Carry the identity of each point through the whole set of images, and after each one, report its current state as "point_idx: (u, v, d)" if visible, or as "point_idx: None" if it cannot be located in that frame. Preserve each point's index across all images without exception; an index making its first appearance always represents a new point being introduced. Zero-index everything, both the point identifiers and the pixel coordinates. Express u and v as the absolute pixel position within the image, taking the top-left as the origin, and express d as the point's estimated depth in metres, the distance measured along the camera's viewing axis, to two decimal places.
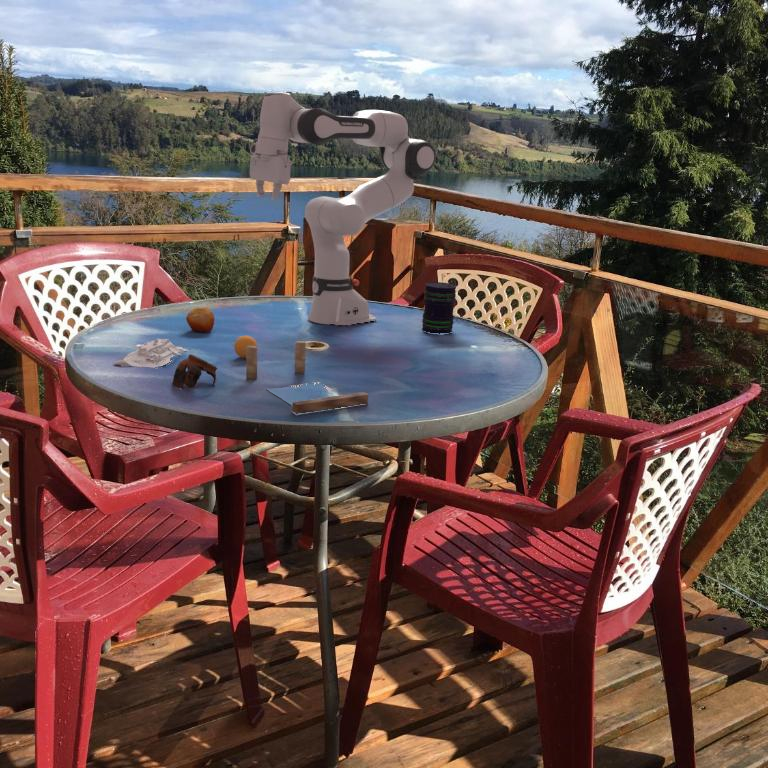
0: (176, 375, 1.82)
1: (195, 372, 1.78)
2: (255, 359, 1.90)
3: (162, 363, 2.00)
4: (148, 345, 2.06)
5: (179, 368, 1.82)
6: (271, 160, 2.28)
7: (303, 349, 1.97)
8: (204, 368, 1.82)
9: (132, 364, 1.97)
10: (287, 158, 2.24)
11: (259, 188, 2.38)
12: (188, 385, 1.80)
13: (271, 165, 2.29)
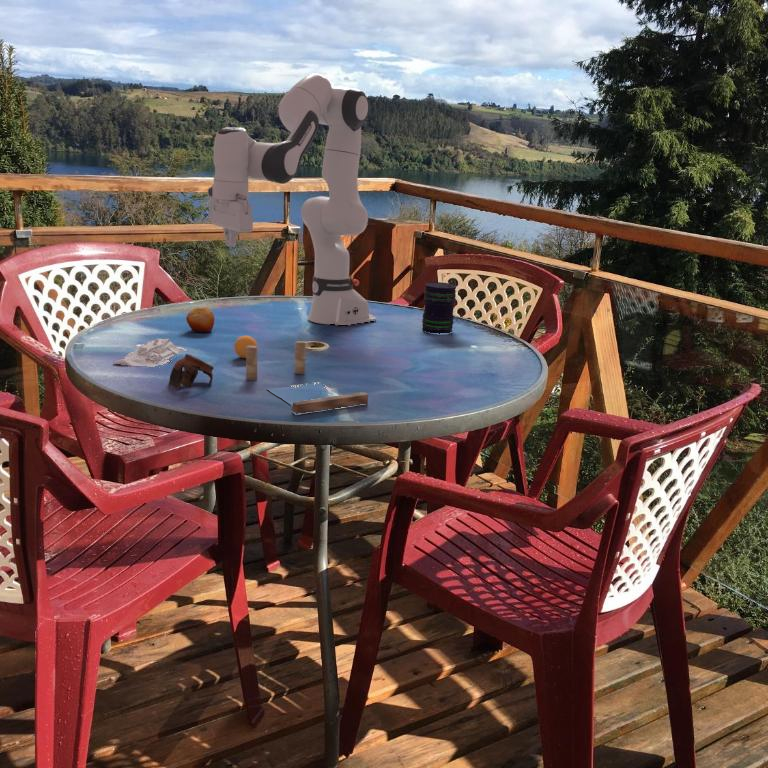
0: (173, 375, 1.83)
1: (192, 372, 1.78)
2: (255, 359, 1.90)
3: (162, 363, 2.00)
4: (148, 345, 2.06)
5: (176, 368, 1.82)
6: (230, 206, 2.02)
7: (303, 349, 1.97)
8: (201, 368, 1.82)
9: (132, 364, 1.98)
10: (247, 204, 1.98)
11: (227, 237, 2.10)
12: (185, 385, 1.80)
13: (231, 212, 2.03)
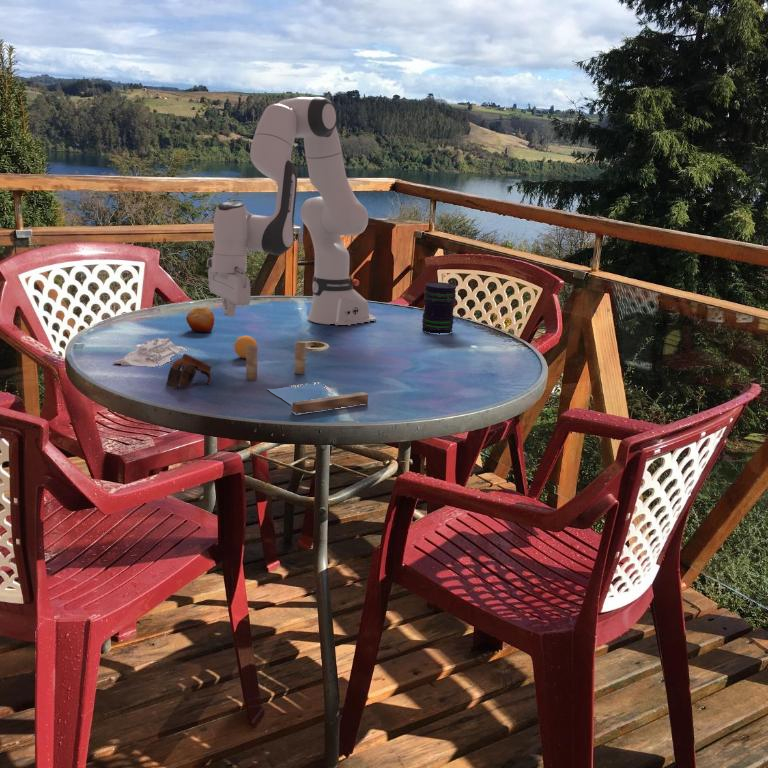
0: (170, 374, 1.83)
1: (190, 371, 1.78)
2: (255, 359, 1.90)
3: (162, 362, 2.00)
4: (148, 344, 2.06)
5: (173, 367, 1.82)
6: (229, 278, 2.08)
7: (303, 349, 1.97)
8: (198, 367, 1.82)
9: (132, 363, 1.98)
10: (245, 278, 2.03)
11: (226, 306, 2.15)
12: (183, 384, 1.81)
13: (229, 284, 2.09)
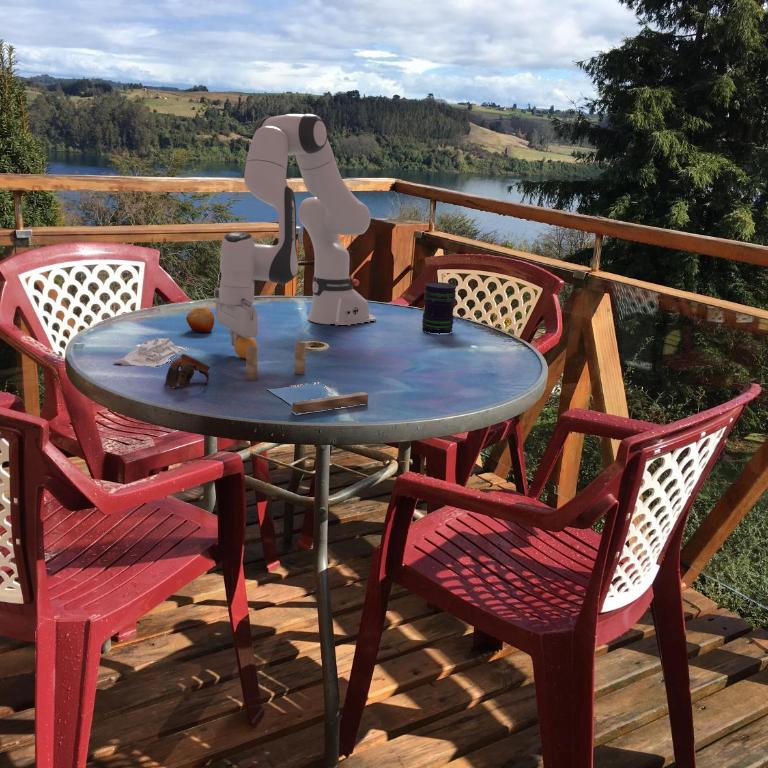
0: (169, 374, 1.83)
1: (188, 371, 1.78)
2: (255, 359, 1.90)
3: (162, 362, 2.01)
4: (148, 344, 2.06)
5: (172, 367, 1.82)
6: (236, 310, 2.05)
7: (303, 349, 1.97)
8: (197, 367, 1.82)
9: (132, 363, 1.98)
10: (252, 311, 2.01)
11: (233, 337, 2.12)
12: (181, 384, 1.81)
13: (236, 316, 2.06)
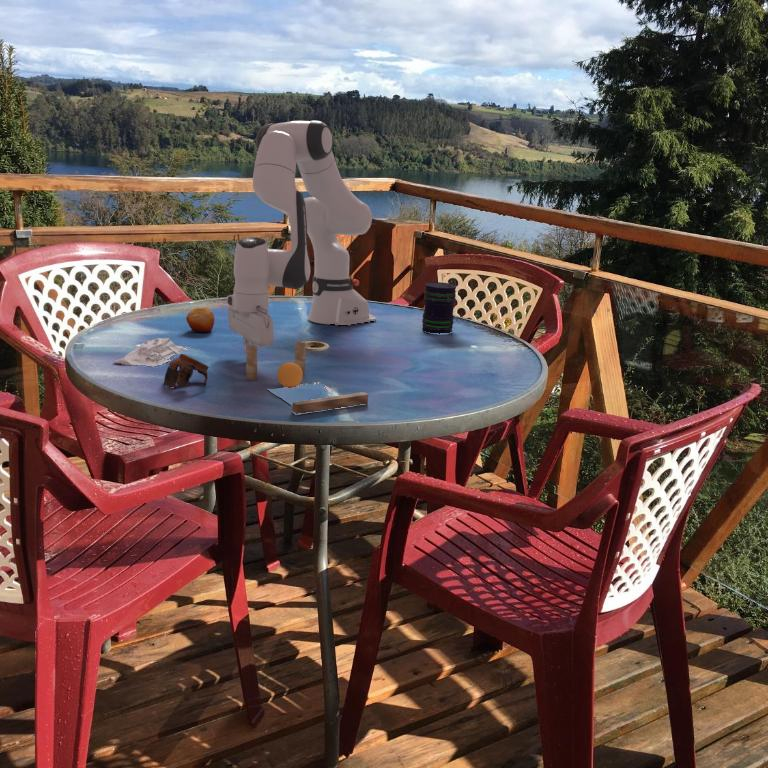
0: (168, 374, 1.83)
1: (187, 371, 1.79)
2: (255, 359, 1.90)
3: (162, 362, 2.01)
4: (149, 344, 2.07)
5: (171, 367, 1.82)
6: (251, 318, 2.00)
7: (303, 349, 1.97)
8: (196, 367, 1.82)
9: (132, 363, 1.98)
10: (268, 318, 1.96)
11: (247, 345, 2.07)
12: (180, 384, 1.81)
13: (251, 323, 2.01)
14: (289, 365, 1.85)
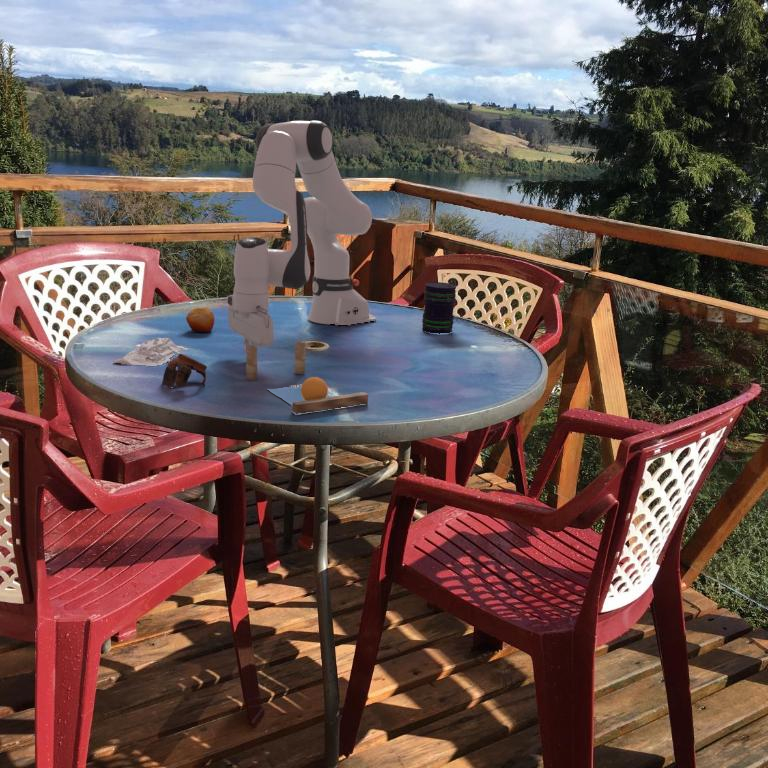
0: (166, 374, 1.83)
1: (185, 371, 1.79)
2: (255, 359, 1.90)
3: (162, 362, 2.01)
4: (149, 344, 2.07)
5: (169, 367, 1.82)
6: (251, 318, 2.00)
7: (303, 349, 1.97)
8: (194, 367, 1.82)
9: (132, 363, 1.98)
10: (268, 318, 1.96)
11: (247, 345, 2.07)
12: (178, 384, 1.81)
13: (251, 323, 2.01)
14: None
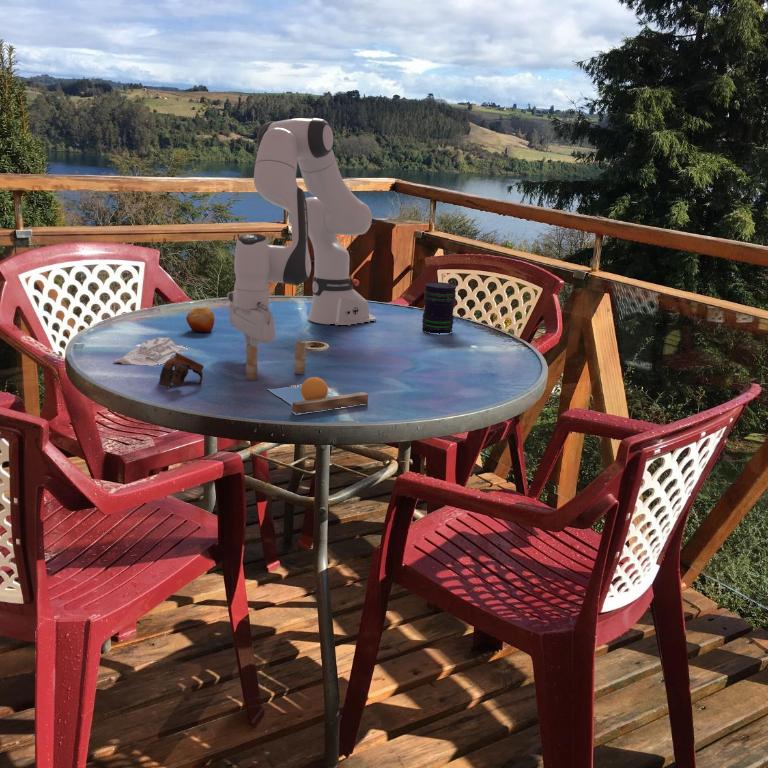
0: (163, 374, 1.83)
1: (182, 370, 1.79)
2: (255, 359, 1.90)
3: (162, 361, 2.01)
4: (149, 343, 2.07)
5: (166, 367, 1.82)
6: (251, 314, 2.00)
7: (303, 349, 1.97)
8: (191, 366, 1.82)
9: (132, 362, 1.99)
10: (269, 315, 1.96)
11: (248, 342, 2.07)
12: (175, 384, 1.81)
13: (252, 320, 2.01)
14: None
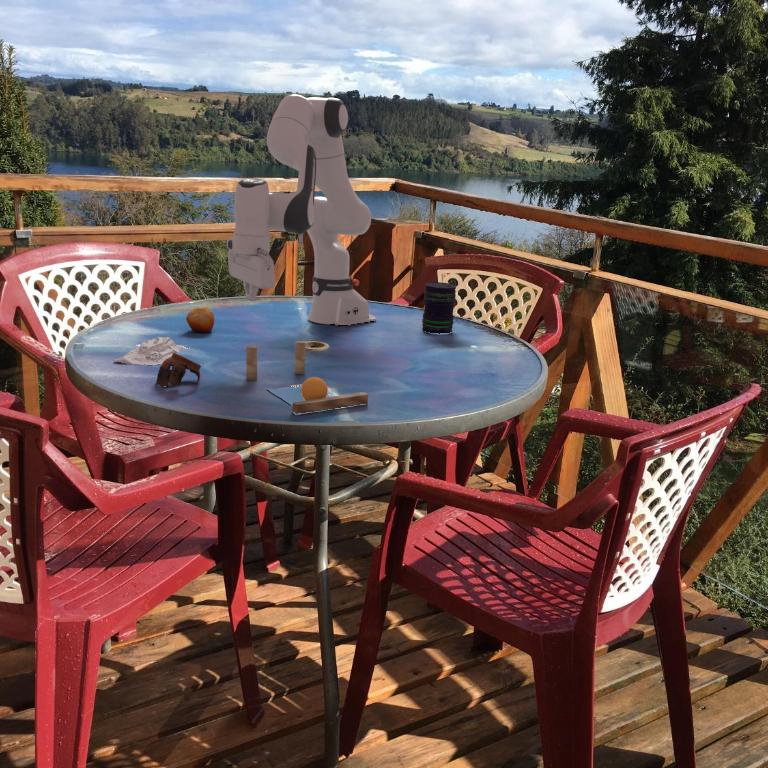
0: (160, 374, 1.83)
1: (180, 370, 1.79)
2: (255, 359, 1.90)
3: (162, 361, 2.02)
4: (149, 343, 2.07)
5: (163, 366, 1.82)
6: (251, 260, 1.96)
7: (303, 349, 1.97)
8: (188, 366, 1.83)
9: (132, 362, 1.99)
10: (269, 259, 1.91)
11: (248, 290, 2.03)
12: (173, 383, 1.81)
13: (252, 266, 1.96)
14: None
